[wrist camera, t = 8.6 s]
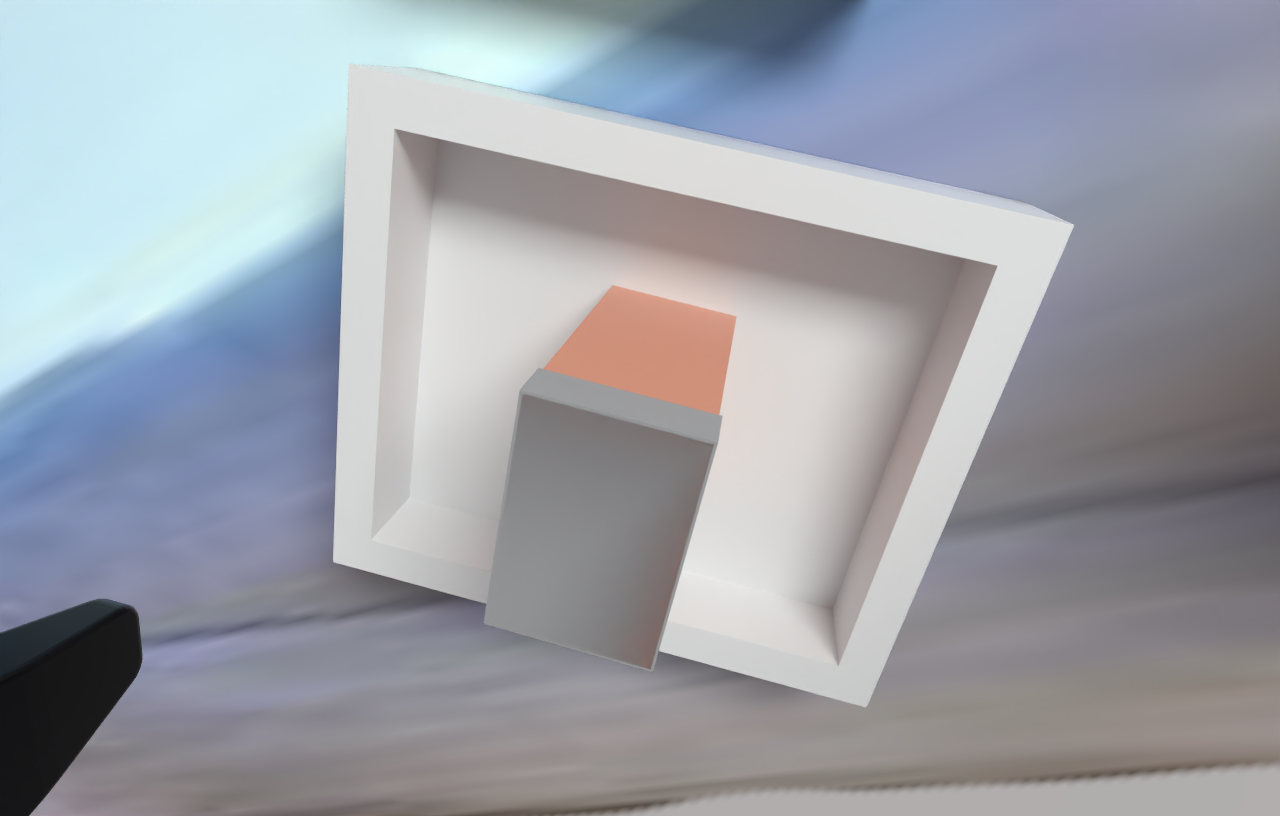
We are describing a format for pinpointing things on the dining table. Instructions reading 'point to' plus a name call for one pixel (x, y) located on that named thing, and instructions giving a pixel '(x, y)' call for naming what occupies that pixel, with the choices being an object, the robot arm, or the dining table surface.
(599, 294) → the parts tray
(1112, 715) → the dining table surface
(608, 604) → the block
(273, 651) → the dining table surface
